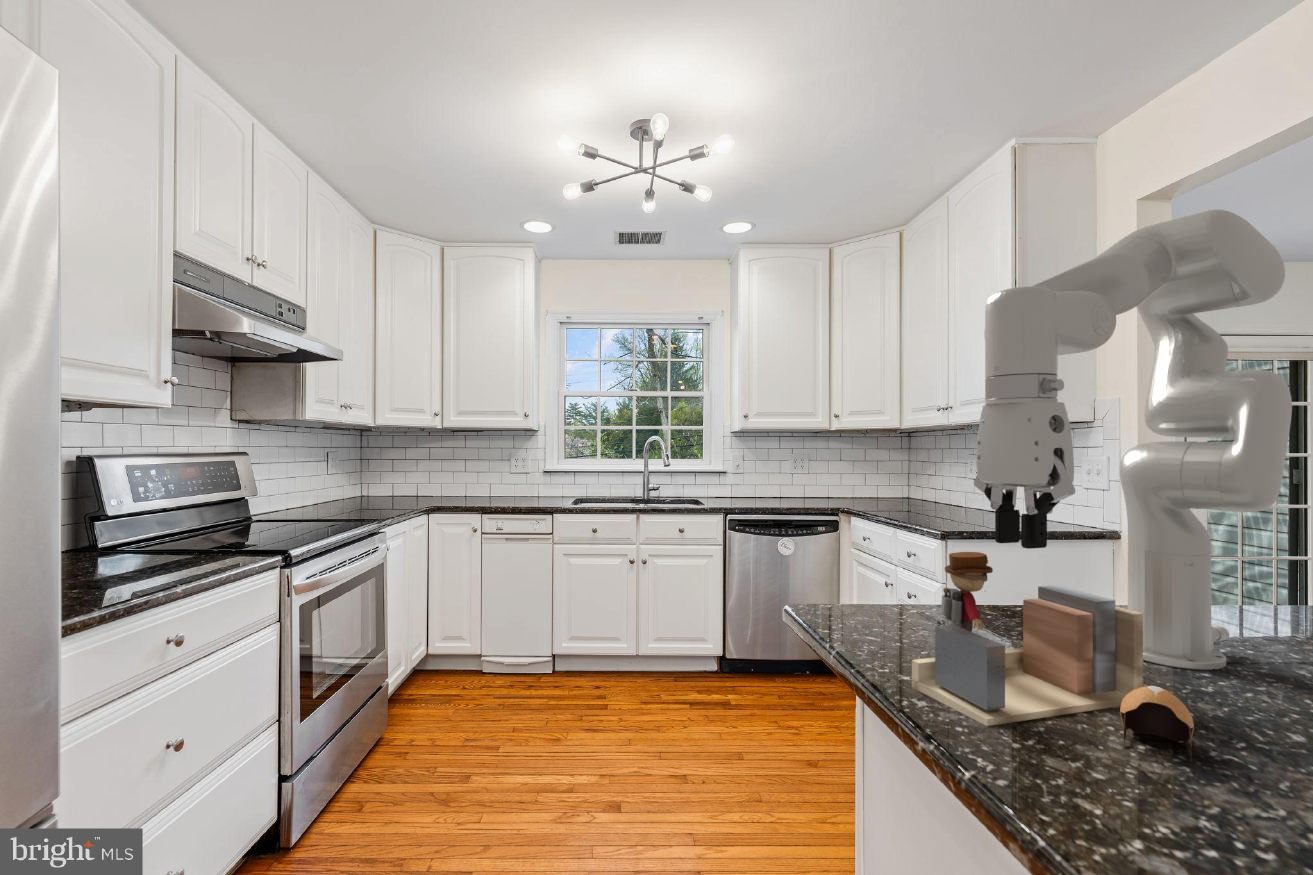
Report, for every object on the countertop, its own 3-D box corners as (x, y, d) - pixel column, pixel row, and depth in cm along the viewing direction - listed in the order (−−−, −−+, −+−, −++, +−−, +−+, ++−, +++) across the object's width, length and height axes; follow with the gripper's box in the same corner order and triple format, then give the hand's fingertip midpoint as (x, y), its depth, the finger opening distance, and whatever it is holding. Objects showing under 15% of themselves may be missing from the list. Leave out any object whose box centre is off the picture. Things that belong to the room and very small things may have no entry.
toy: (1005, 670, 84) (1005, 561, 84) (952, 666, 85) (952, 559, 85) (979, 643, 95) (979, 547, 95) (932, 640, 96) (932, 545, 96)
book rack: (1052, 669, 84) (1052, 581, 84) (1143, 705, 73) (1143, 603, 73) (911, 687, 78) (912, 591, 78) (986, 730, 66) (987, 617, 66)
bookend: (951, 680, 76) (952, 624, 76) (1005, 707, 68) (1005, 645, 68) (935, 683, 75) (935, 626, 75) (986, 710, 68) (987, 647, 68)
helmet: (1195, 796, 59) (1190, 722, 64) (1199, 757, 56) (1193, 683, 61) (1119, 776, 63) (1120, 707, 68) (1119, 738, 59) (1120, 669, 64)
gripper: (1111, 388, 67) (1111, 555, 67) (990, 397, 83) (990, 533, 82) (1058, 386, 65) (1058, 559, 65) (944, 396, 80) (944, 536, 80)
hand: (1020, 543), depth 74 cm, fingers open, 3 cm apart
